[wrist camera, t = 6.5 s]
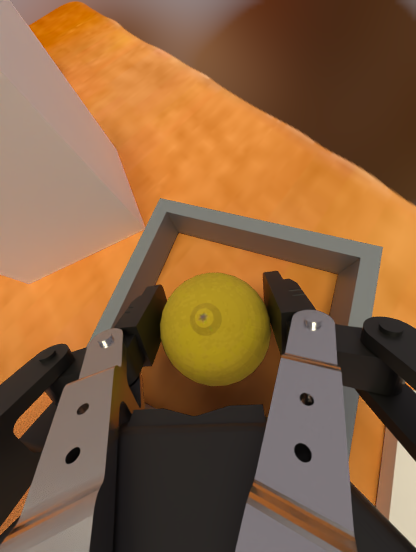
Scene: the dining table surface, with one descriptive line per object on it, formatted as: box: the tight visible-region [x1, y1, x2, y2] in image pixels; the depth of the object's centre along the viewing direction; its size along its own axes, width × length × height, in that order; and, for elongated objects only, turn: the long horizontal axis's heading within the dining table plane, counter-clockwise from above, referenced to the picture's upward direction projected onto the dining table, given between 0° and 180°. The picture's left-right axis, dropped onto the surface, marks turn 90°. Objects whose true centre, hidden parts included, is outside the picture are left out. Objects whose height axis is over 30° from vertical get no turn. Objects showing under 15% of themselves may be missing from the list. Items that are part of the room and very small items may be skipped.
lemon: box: [160, 273, 271, 386], centre depth 11 cm, size 6×6×8 cm
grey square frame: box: [86, 198, 383, 461], centre depth 13 cm, size 15×15×3 cm
